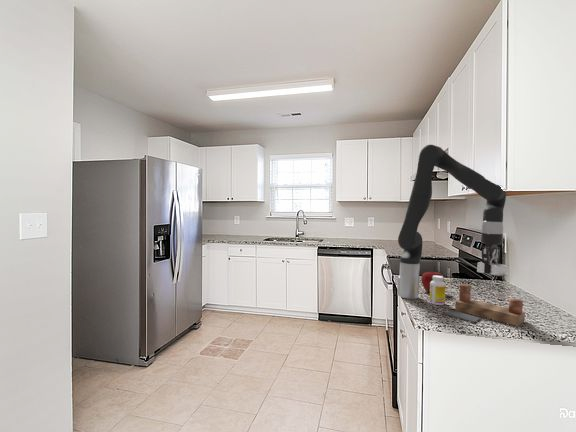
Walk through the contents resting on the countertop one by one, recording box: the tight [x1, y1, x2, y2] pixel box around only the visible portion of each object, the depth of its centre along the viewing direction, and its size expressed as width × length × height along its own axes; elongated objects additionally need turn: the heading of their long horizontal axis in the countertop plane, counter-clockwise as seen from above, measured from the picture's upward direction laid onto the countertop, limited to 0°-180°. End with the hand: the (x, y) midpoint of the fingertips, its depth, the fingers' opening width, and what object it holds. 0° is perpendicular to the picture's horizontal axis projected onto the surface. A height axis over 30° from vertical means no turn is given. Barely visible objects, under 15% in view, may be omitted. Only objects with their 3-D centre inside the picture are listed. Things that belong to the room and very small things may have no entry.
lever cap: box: [476, 261, 510, 277], centre depth 131 cm, size 11×5×4 cm, turn 39°
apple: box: [420, 271, 445, 294], centre depth 167 cm, size 11×11×12 cm
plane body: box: [454, 283, 526, 327], centre depth 133 cm, size 23×9×11 cm, turn 39°
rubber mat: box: [443, 309, 482, 323], centre depth 131 cm, size 12×7×1 cm, turn 39°
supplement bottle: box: [429, 275, 446, 306], centre depth 148 cm, size 7×7×13 cm
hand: (489, 272), depth 132 cm, fingers closed on lever cap, 5 cm apart
